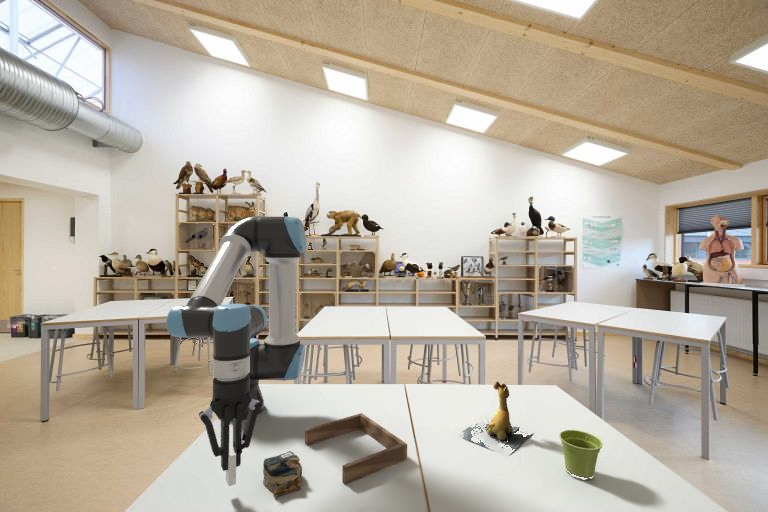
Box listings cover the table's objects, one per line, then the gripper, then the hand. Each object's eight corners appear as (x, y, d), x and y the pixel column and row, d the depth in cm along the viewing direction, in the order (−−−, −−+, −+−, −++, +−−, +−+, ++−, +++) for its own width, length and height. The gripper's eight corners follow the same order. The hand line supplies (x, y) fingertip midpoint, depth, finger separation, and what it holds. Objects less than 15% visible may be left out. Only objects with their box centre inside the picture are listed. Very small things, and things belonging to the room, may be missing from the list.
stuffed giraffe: (534, 433, 113) (532, 380, 113) (508, 459, 100) (506, 400, 99) (485, 418, 124) (483, 370, 124) (456, 440, 110) (454, 386, 110)
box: (305, 443, 105) (305, 429, 105) (361, 425, 116) (361, 413, 116) (344, 484, 87) (345, 467, 87) (407, 459, 98) (407, 444, 98)
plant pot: (600, 490, 86) (601, 453, 86) (556, 476, 91) (556, 441, 91) (602, 470, 94) (603, 436, 94) (561, 458, 99) (561, 426, 99)
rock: (275, 501, 81) (275, 475, 81) (259, 479, 88) (259, 456, 88) (311, 486, 86) (311, 461, 86) (293, 467, 94) (293, 444, 94)
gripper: (202, 386, 75) (201, 502, 76) (266, 375, 83) (265, 480, 83) (195, 376, 81) (195, 483, 82) (256, 366, 89) (255, 464, 89)
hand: (230, 481), depth 83 cm, fingers closed
